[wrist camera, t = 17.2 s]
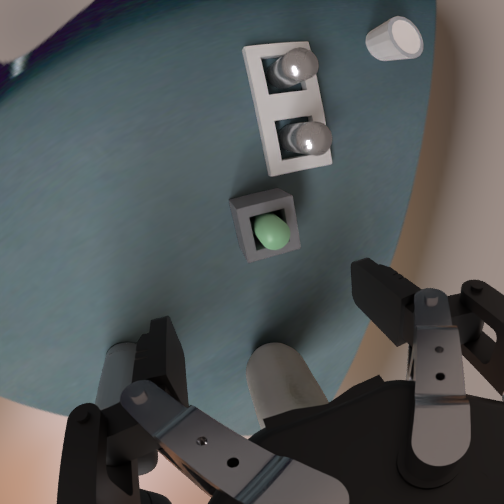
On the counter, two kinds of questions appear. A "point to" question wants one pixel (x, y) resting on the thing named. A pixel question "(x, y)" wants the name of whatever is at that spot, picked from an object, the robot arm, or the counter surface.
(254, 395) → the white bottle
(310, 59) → the seated billet
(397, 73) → the counter surface
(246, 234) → the grey square holder
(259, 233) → the button
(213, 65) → the counter surface
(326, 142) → the cylinder
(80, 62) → the counter surface
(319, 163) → the grey flat frame
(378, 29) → the white cup
